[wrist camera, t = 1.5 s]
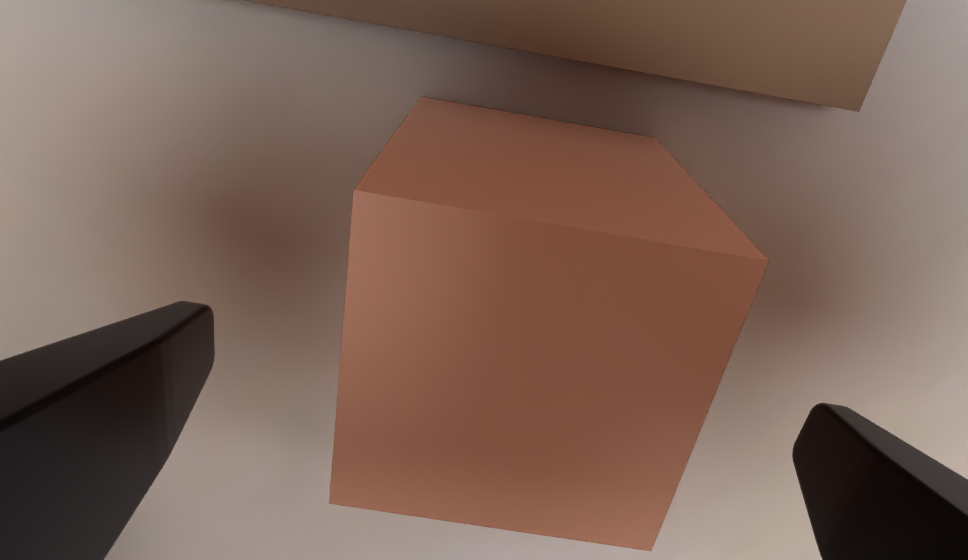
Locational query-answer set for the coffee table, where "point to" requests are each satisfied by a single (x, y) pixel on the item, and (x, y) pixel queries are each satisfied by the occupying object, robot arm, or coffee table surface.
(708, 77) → the board
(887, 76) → the coffee table surface
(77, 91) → the coffee table surface
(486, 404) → the salmon orange block
